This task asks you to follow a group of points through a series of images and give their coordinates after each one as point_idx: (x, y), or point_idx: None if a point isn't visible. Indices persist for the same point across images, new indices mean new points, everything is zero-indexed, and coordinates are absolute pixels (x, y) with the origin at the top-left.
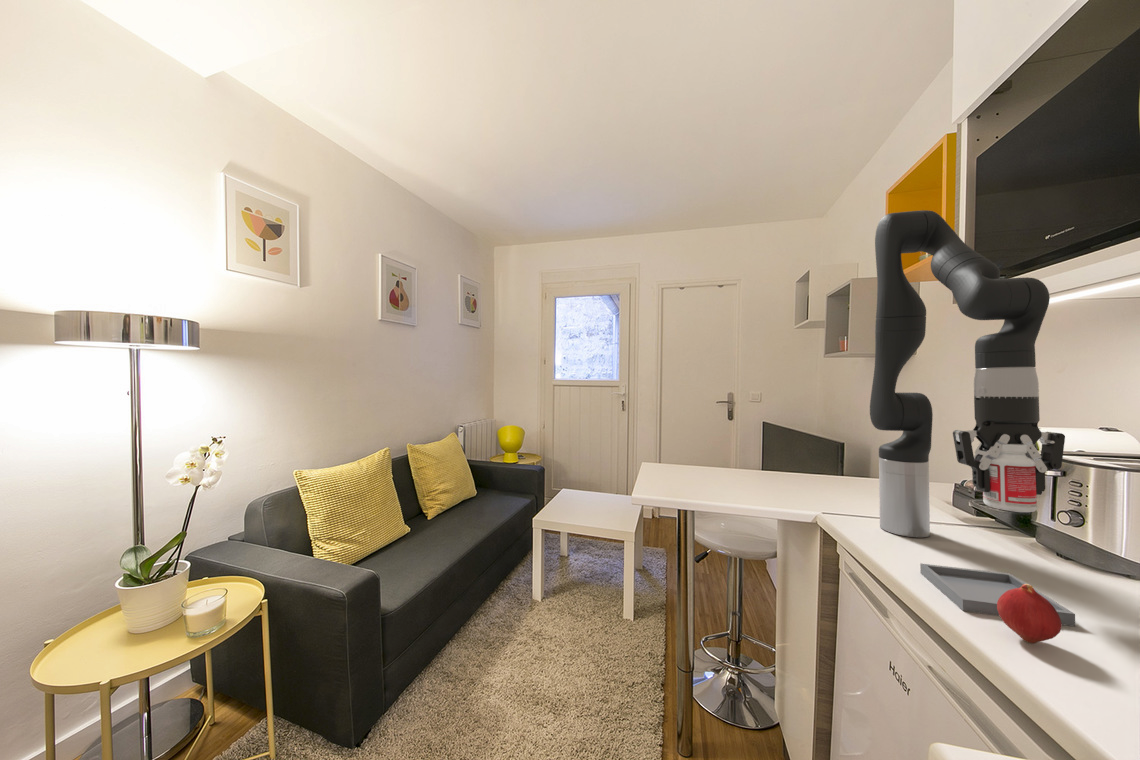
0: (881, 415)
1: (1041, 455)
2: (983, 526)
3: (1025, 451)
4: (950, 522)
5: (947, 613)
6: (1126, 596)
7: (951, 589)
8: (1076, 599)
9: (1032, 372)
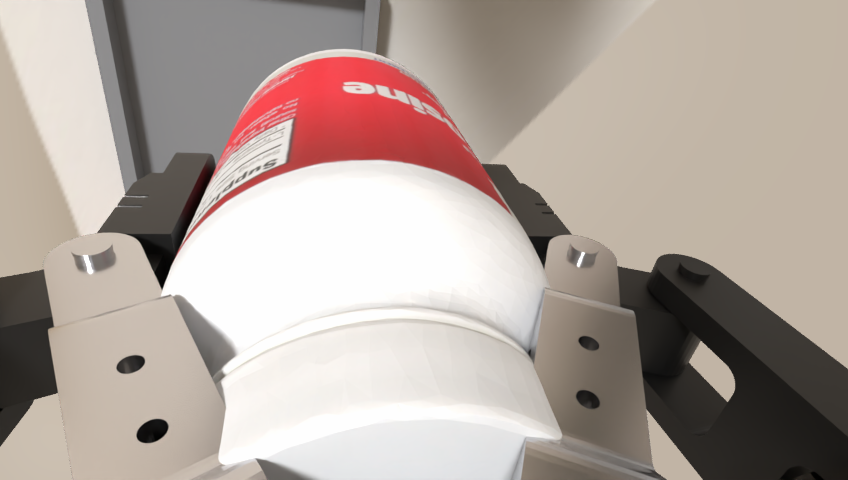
0: None
1: (711, 335)
2: None
3: None
4: None
5: (94, 213)
6: (641, 5)
7: (119, 156)
8: (486, 56)
9: None
